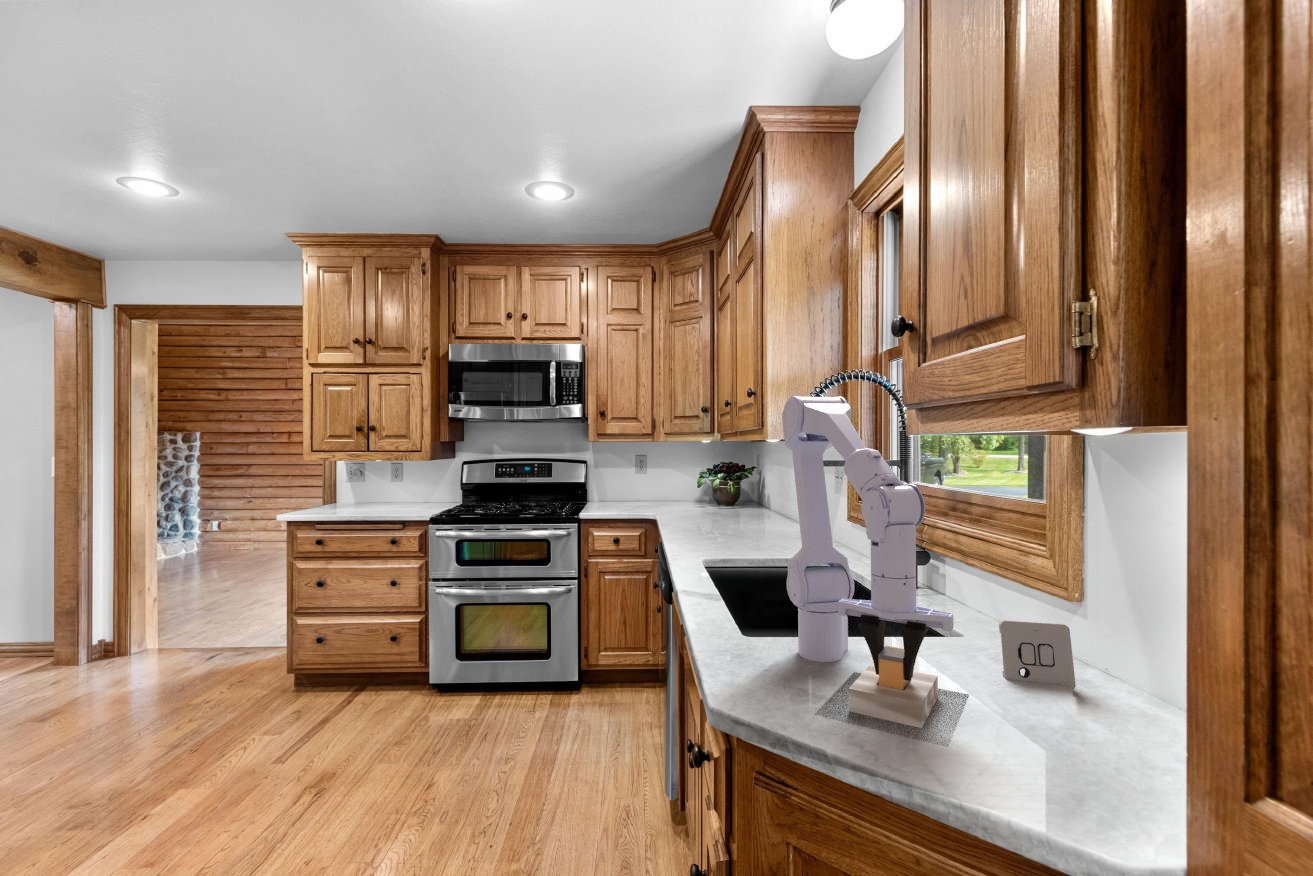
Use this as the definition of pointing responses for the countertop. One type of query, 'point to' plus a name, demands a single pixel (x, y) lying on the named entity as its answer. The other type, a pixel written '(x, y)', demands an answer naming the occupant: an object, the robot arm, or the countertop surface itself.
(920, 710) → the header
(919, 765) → the countertop surface
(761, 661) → the countertop surface
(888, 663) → the plug
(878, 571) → the robot arm
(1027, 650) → the electrical switch
